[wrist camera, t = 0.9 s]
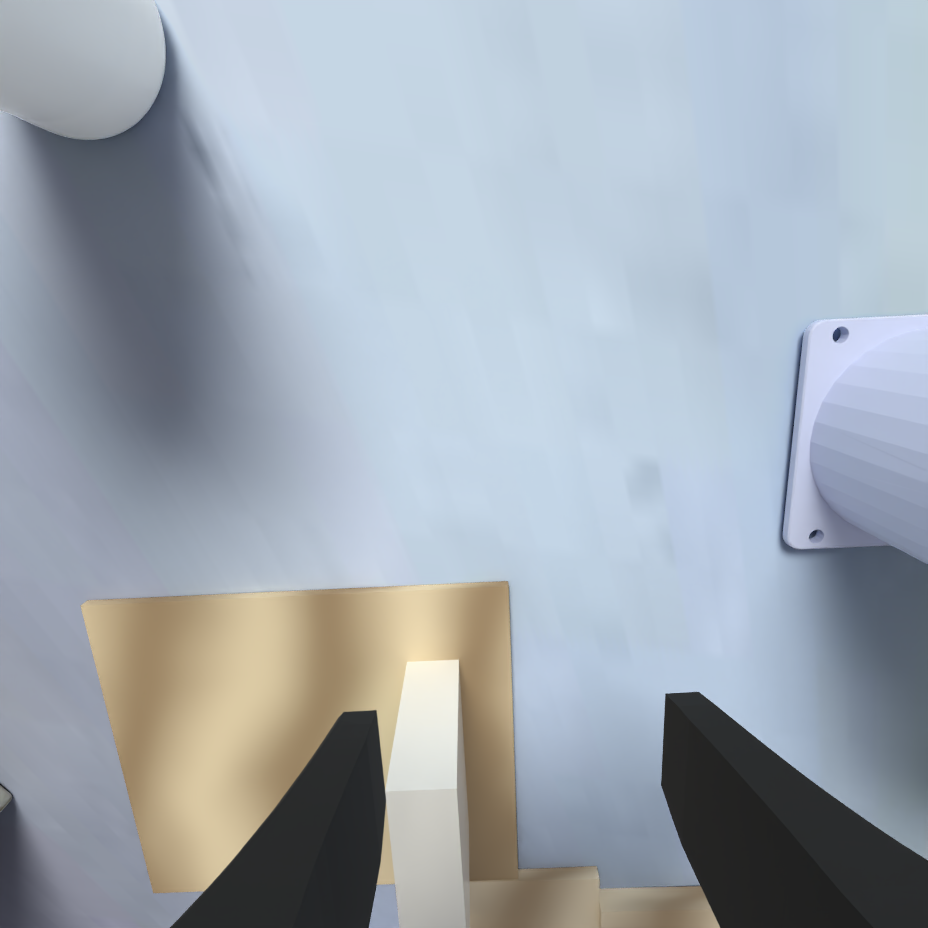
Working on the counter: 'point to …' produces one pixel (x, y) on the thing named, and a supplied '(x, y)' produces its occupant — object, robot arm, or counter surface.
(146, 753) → the bamboo mat
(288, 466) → the counter surface
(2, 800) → the coffee box
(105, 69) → the drinking glass
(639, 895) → the beech spatula
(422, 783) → the white block
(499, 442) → the counter surface
